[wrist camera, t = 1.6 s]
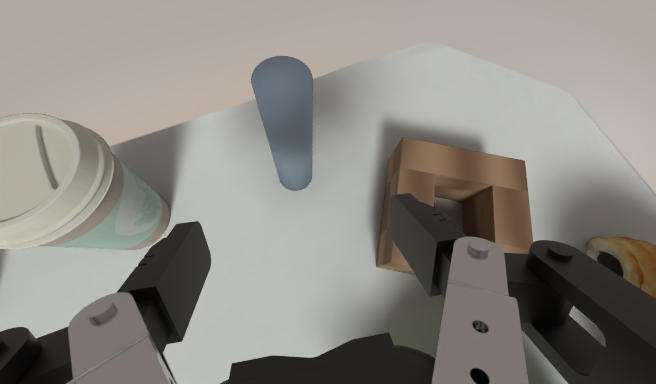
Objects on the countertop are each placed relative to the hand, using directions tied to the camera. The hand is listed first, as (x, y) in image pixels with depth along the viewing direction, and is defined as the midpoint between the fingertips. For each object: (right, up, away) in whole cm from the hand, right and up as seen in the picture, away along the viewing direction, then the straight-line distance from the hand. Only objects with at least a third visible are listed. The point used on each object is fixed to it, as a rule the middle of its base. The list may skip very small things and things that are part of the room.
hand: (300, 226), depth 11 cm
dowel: (-2, +3, +17) cm, 18 cm away
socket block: (+13, -2, +17) cm, 21 cm away
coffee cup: (-18, -1, +15) cm, 23 cm away
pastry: (+32, -7, +16) cm, 37 cm away
